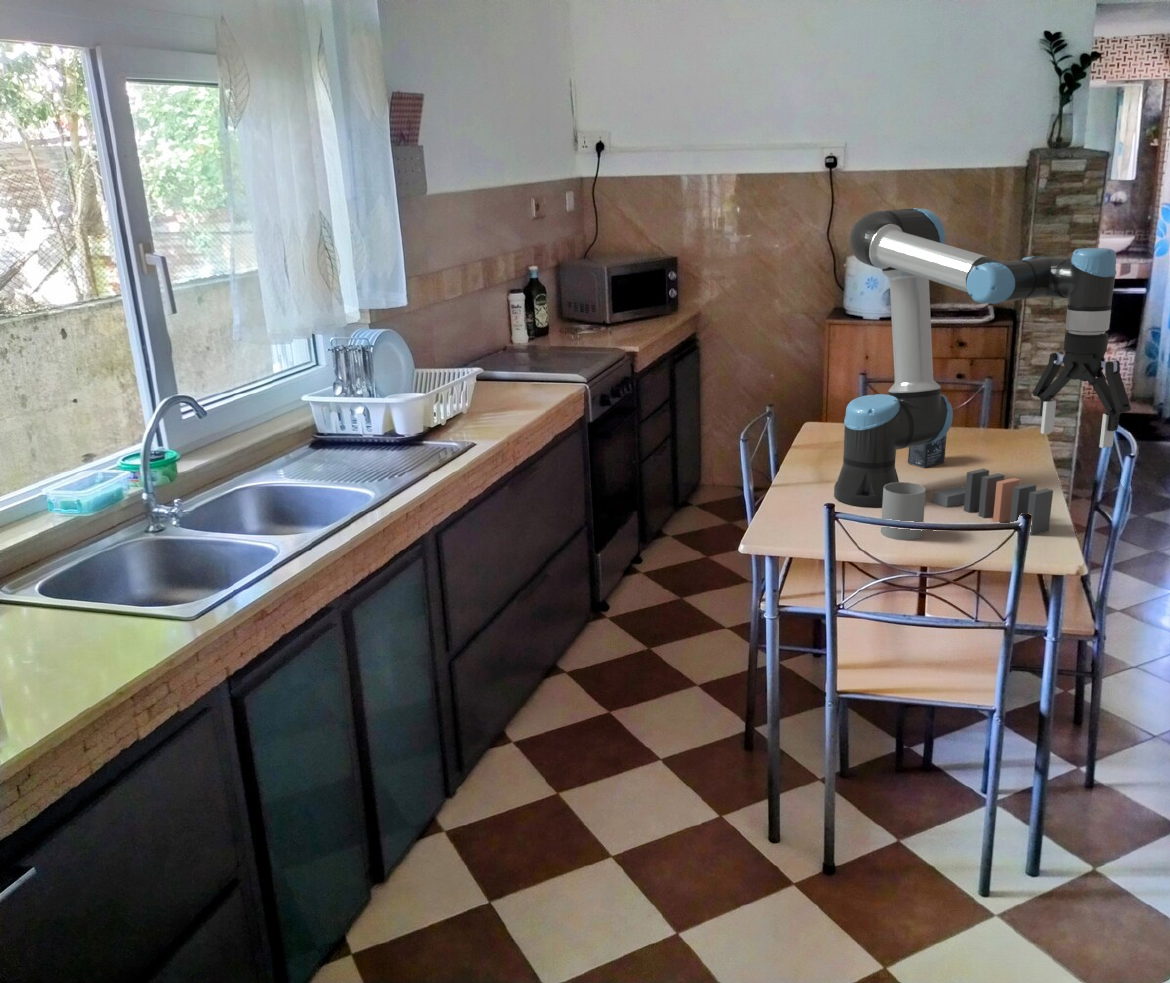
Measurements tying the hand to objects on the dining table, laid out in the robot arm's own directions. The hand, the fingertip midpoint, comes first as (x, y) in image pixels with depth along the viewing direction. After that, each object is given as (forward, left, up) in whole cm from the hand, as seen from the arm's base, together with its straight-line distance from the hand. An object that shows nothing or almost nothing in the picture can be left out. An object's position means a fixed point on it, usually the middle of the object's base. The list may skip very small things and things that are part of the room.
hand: (1075, 439), depth 198 cm
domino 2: (0, +19, -22) cm, 29 cm away
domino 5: (0, +6, -22) cm, 22 cm away
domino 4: (0, +11, -22) cm, 24 cm away
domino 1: (0, +23, -22) cm, 32 cm away
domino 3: (0, +15, -22) cm, 26 cm away
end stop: (0, +30, -22) cm, 36 cm away
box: (+17, +55, -22) cm, 62 cm away
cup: (-24, +20, -22) cm, 38 cm away
